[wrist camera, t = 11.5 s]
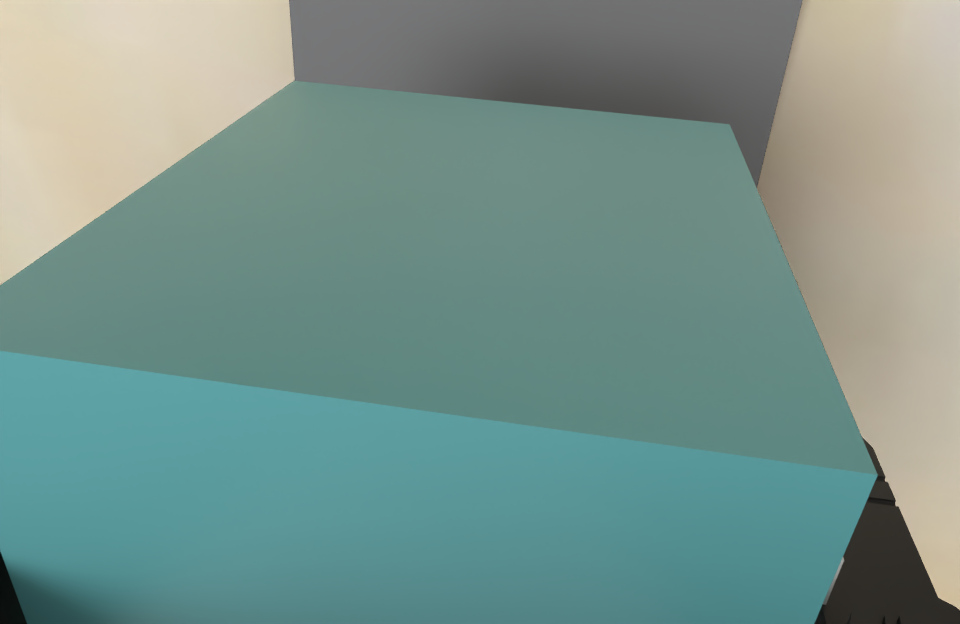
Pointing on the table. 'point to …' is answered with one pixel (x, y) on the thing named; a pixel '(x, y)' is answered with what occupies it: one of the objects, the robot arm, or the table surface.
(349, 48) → the slate mat
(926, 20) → the table surface
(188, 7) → the table surface
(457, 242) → the teal block
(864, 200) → the table surface
